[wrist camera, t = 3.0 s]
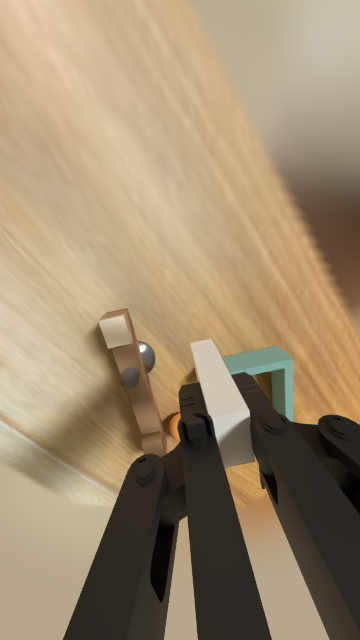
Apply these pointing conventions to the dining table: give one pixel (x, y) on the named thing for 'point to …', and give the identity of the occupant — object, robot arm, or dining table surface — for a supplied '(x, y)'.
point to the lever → (134, 379)
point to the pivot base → (147, 356)
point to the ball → (174, 427)
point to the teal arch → (265, 362)
